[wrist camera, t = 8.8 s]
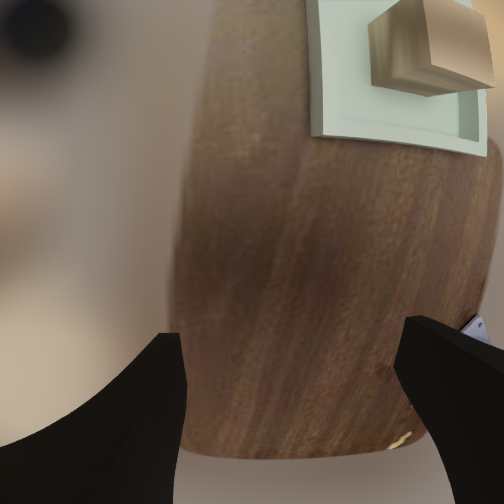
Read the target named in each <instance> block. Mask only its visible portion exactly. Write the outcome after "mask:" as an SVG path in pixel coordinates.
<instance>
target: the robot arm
mask: <svg viewBox="0 0 504 504" xmlns="http://www.w3.org/2000/svg"><path fill="white" fill-rule="evenodd" d="M393 367H394V369H395V372H396V374H397V377H398V379H399V381H400V384H401V386H402V388H403V390H404V392H405V394H406V395H407V397H408V399H409V400H410V402H411V404H412V405H413V407H414V409H415V410H416V412H417V413H418V415H419V417H420V418H421V420H422V422H423V423H424V425H425V427H426V428H427V430H428V432H429V433H430V435H431V437H432V439H433V441H434V443H435V445H436V447H437V449H438V452H439V454H440V456H441V459H442V461H443V464H444V467H445V470H446V472H447V476H448V478H449V481H450V484H451V488H452V492H453V496H454V500H455V504H504V350H501V349H499V348H496V347H494V346H492V345H491V343H490V339H489V336H488V333H487V330H486V327H485V324H484V321H483V318H482V316H480V315H476V316H475V317H474V318H473V319H472V320H471V321H470V322H469V323H468V324H467V325H466V326H465V327H464V328H463V329H462V330H461V331H458V330H455V329H453V328H451V327H449V326H447V325H445V324H442V323H440V322H438V321H435V320H433V319H430V318H428V317H424V316H421V315H419V316H412V317H406V319H405V323H404V328H403V332H402V336H401V340H400V344H399V348H398V351H397V355H396V359H395V362H394V366H393ZM186 399H187V380H186V374H185V368H184V362H183V355H182V349H181V342H180V335H179V333H159V334H158V335H157V336H156V337H155V338H154V339H153V340H152V341H151V342H150V343H149V344H148V345H147V346H146V347H145V348H144V349H143V350H142V351H141V353H140V354H139V355H138V356H137V357H136V358H135V359H134V360H133V361H132V362H131V363H130V364H129V365H128V366H127V367H126V368H125V369H124V370H123V371H122V372H121V373H120V374H119V375H118V376H117V377H115V378H114V379H113V380H112V381H111V382H110V383H109V384H108V385H107V386H106V387H104V388H103V389H102V390H101V391H100V392H99V393H97V394H96V395H95V396H93V397H92V398H91V399H90V400H88V401H87V402H85V403H84V404H83V405H81V406H80V407H78V408H77V409H76V410H74V411H73V412H71V413H70V414H68V415H66V416H65V417H63V418H61V419H60V420H58V421H56V422H54V423H53V424H51V425H49V426H47V427H46V428H44V429H42V430H40V431H38V432H36V433H34V434H32V435H29V436H28V437H25V438H23V439H21V440H18V441H16V442H13V443H11V444H8V445H5V446H2V447H0V504H173V487H174V476H175V469H176V463H177V457H178V452H179V446H180V441H181V435H182V430H183V424H184V419H185V413H186Z"/></svg>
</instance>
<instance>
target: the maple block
mask: <svg viewBox="0 0 504 504" xmlns="http://www.w3.org/2000/svg"><path fill="white" fill-rule="evenodd" d="M367 26H368V37H369V50H370V66H371V86H377V87H383V88H388V89H393V90H398V91H403V92H408V93H412V94H417V95H421V96H425V97H432V96H437V95H443V94H450V93H456V92H463V91H471V90H479V89H487V88H495V87H494V76H493V67H492V59H491V52H490V45H489V39H488V34H487V29H486V23H485V19H484V15H482V14H480V13H478V12H477V11H475V10H473V9H471V8H469V7H467V6H465V5H463V4H460V3H458V2H456V1H454V0H400V1H398V2H397V3H396V4H394V5H393V6H391V7H390V8H389V9H387V10H386V11H385V12H383V13H382V14H381V15H379V16H378V17H377V18H375V19H374V20H373V21H372V22H370V23H369V24H368V25H367Z"/></svg>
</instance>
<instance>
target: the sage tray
mask: <svg viewBox="0 0 504 504" xmlns="http://www.w3.org/2000/svg"><path fill="white" fill-rule="evenodd" d="M398 1H400V0H306V14H307V32H308V56H309V91H310V137H324V138H340V139H353V140H364V141H375V142H384V143H393V144H401V145H409V146H416V147H423V148H430V149H436V150H442V151H448V152H454V153H459V154H466V155H474V156H482V157H487V110H486V93H485V89H479V90H471V91H463V92H456V93H450V94H443V95H437V96H432V97H425V96H421V95H417V94H412V93H408V92H403V91H398V90H393V89H388V88H383V87H377V86H371V66H370V50H369V37H368V26H367V25H368V24H369V23H370V22H372V21H373V20H374V19H375V18H377V17H378V16H379V15H381V14H382V13H383V12H385V11H386V10H387V9H389V8H390V7H391V6H393V5H394V4H396V3H397V2H398ZM454 1H456V2H458V3H460V4H463V5H465V6H467V7H469V8H471V9H473V6H472V2H471V1H470V0H454Z"/></svg>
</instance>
